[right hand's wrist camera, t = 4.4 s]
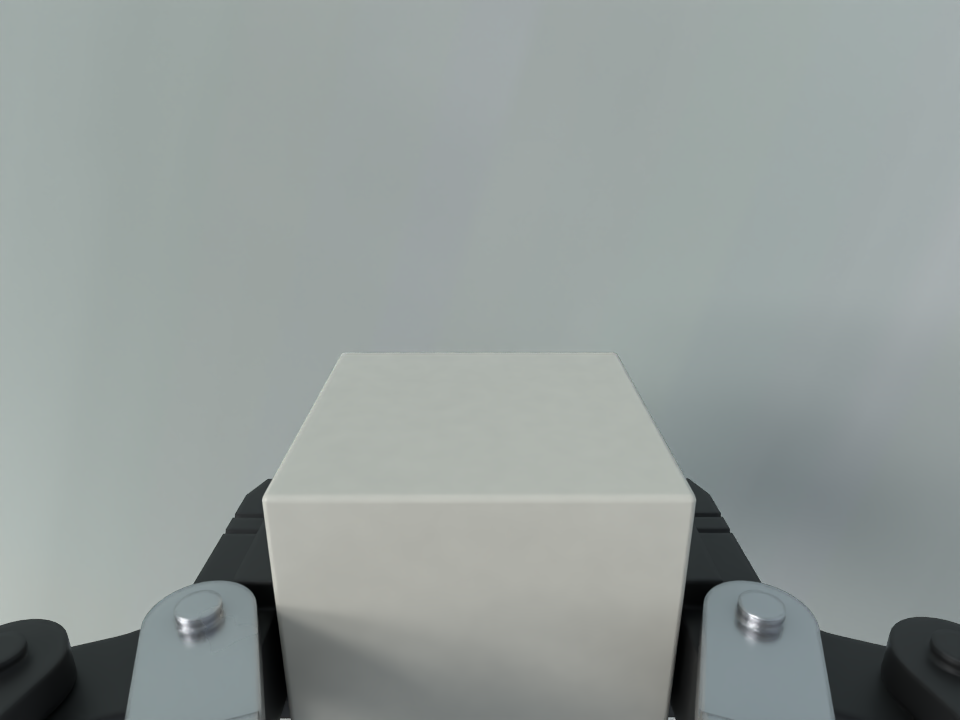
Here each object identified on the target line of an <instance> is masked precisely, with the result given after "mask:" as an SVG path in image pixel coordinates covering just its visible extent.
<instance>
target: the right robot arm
mask: <svg viewBox="0 0 960 720" xmlns="http://www.w3.org/2000/svg"><path fill="white" fill-rule="evenodd" d="M686 480H687V482H688V484H689V486H690V487H691V489H692V491H693V493H694V495H695V498H696V505H695V513H694V521H693V529H692V536H691V544H690V552H689V560H688V567H687V575H686V583H685V591H684V599H683V606H682V614H681V622H680V630H679V637H678V645H677V653H676V661H675V668H674V676H673V684H672V692H671V699H670V707H669V715H668V717H675V719H676V720H960V624H957V623H954V622H950V621H947V620H942V619H937V618H929V617H914V618H907V619H904V620H901V621H900V622H898V623H896V624H895V625H894V626H893V628H892V629H891V632H890V635H889V638H888V642H887V646H882V645H878V644H873V643H869V642H864V641H860V640H855V639H851V638H847V637H842V636H838V635H834V634H830V633H826V632H824V631H821V630H820V629H819V626H818V622H817V620H816V619H815V617H814V615H813V614H812V612H811V611H810V610H809V609H808V608H807V607H806V606H805V605H804V604H803V603H802V602H800V601H799V600H798V599H796V598H795V597H794V596H792V595H790V594H788V593H787V592H785V591H783V590H780V589H778V588H776V587H773V586H770V585H767V584H763V583H761V581H760V580H759V578H758V576H757V574H756V573H755V571H754V569H753V568H752V566H751V564H750V563H749V561H748V559H747V557H746V556H745V554H744V552H743V551H742V549H741V547H740V546H739V544H738V542H737V540H736V539H735V537H734V535H733V534H732V533H730V528H729V527H728V525H727V523H726V522H725V520H724V518H723V517H721V513H720V511H719V510H718V508H717V506H716V505H715V503H714V501H713V499H712V498H711V496H710V494H708V493H707V492H706V491H704V490H703V489H702V488H700V487H699V486H698V485H696V484H695V483H694V482H692V481H691V480H690V479H688V478H686ZM271 481H272V479H267V480H266V481H265V482H263V483H262V484H261V485H259V486H258V487H257V488H255V489H254V490H253V491H251V492H250V493H249V494H247V495H246V497H245V498H244V500H243V502H242V503H241V505H240V507H239V508H238V510H237V512H236V513H235V518H232V520H231V522H230V523H229V525H228V527H227V528H226V533H225V534H223V535H222V537H221V539H220V540H219V542H218V544H217V545H216V547H215V549H214V550H213V552H212V554H211V555H210V557H209V559H208V560H207V562H206V564H205V565H204V567H203V569H202V571H201V572H200V574H199V576H198V577H197V579H196V581H195V582H194V584H193V585H190V586H187V587H184V588H182V589H180V590H177V591H175V592H173V593H172V594H170V595H168V596H166V597H165V598H164V599H162V600H161V601H159V602H158V603H157V604H156V605H155V606H154V607H153V608H152V609H151V610H150V611H149V612H148V614H147V615H146V617H145V618H144V620H143V622H142V626H141V629H140V630H137V631H134V632H131V633H129V634H125V635H121V636H118V637H113V638H109V639H104V640H100V641H95V642H91V643H87V644H82V645H78V646H73V647H71V646H70V643H69V639H68V635H67V633H66V630H65V629H64V628H63V627H62V626H61V625H59V624H58V623H56V622H53V621H50V620H43V619H28V620H20V621H16V622H11V623H7V624H4V625H1V626H0V720H280V718H290V711H289V703H288V695H287V688H286V680H285V672H284V665H283V657H282V649H281V642H280V634H279V626H278V619H277V611H276V603H275V595H274V588H273V580H272V572H271V565H270V557H269V549H268V542H267V534H266V526H265V519H264V511H263V503H262V499H263V496H264V494H265V492H266V490H267V488H268V486H269V485H270V483H271Z"/></svg>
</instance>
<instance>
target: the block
mask: <svg viewBox="0 0 960 720" xmlns="http://www.w3.org/2000/svg"><path fill="white" fill-rule="evenodd" d="M262 503H263V511H264V519H265V526H266V534H267V542H268V549H269V557H270V565H271V572H272V580H273V588H274V595H275V603H276V611H277V619H278V626H279V634H280V642H281V649H282V657H283V665H284V672H285V680H286V688H287V695H288V703H289V711H290V718H291V720H668V715H669V707H670V699H671V692H672V684H673V676H674V668H675V661H676V653H677V645H678V637H679V630H680V622H681V614H682V606H683V599H684V591H685V583H686V575H687V567H688V560H689V552H690V544H691V536H692V529H693V521H694V513H695V505H696V498H695V495H694V493H693V491H692V489H691V487H690V486H689V484H688V482H687V480H686V478H685V476H684V475H683V473H682V471H681V469H680V467H679V466H678V464H677V462H676V460H675V458H674V457H673V455H672V453H671V451H670V449H669V447H668V446H667V444H666V442H665V440H664V438H663V437H662V435H661V433H660V431H659V429H658V427H657V426H656V424H655V422H654V420H653V418H652V417H651V415H650V413H649V411H648V409H647V407H646V406H645V404H644V402H643V400H642V398H641V397H640V395H639V393H638V391H637V389H636V387H635V386H634V384H633V382H632V380H631V378H630V377H629V375H628V373H627V371H626V369H625V367H624V366H623V364H622V362H621V360H620V358H619V357H618V355H617V354H616V353H343V354H341V356H340V358H339V359H338V361H337V363H336V365H335V367H334V368H333V370H332V372H331V374H330V376H329V378H328V379H327V381H326V383H325V385H324V387H323V388H322V390H321V392H320V394H319V396H318V397H317V399H316V401H315V403H314V405H313V407H312V408H311V410H310V412H309V414H308V416H307V417H306V419H305V421H304V423H303V425H302V426H301V428H300V430H299V432H298V434H297V436H296V437H295V439H294V441H293V443H292V445H291V446H290V448H289V450H288V452H287V454H286V456H285V457H284V459H283V461H282V463H281V465H280V466H279V468H278V470H277V472H276V474H275V475H274V477H273V479H272V481H271V483H270V485H269V486H268V488H267V490H266V492H265V494H264V496H263V499H262Z"/></svg>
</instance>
